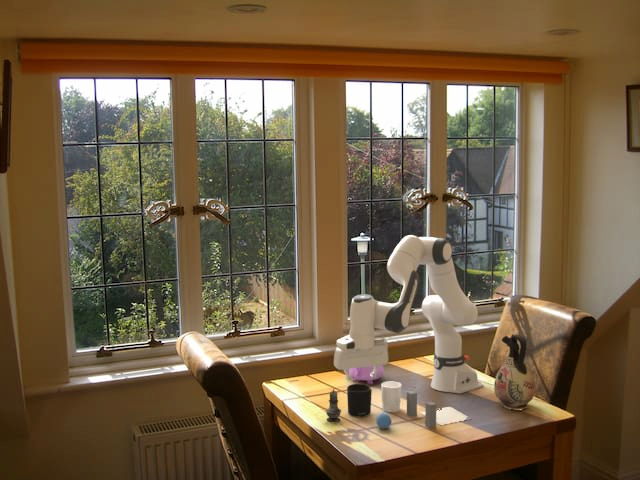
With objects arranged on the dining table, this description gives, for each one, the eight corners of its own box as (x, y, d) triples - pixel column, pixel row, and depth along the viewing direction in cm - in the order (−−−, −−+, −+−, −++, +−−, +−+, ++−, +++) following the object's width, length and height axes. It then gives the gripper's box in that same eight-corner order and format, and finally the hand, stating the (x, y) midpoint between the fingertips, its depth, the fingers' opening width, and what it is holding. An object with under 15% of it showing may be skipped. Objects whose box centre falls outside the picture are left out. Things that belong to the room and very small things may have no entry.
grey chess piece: (325, 417, 263) (325, 386, 261) (340, 416, 263) (340, 386, 262) (326, 423, 257) (326, 391, 255) (342, 422, 257) (342, 391, 256)
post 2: (431, 425, 255) (432, 401, 253) (436, 427, 252) (436, 403, 251) (425, 426, 253) (425, 402, 252) (429, 429, 251) (429, 405, 250)
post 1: (412, 413, 266) (413, 390, 265) (416, 415, 264) (417, 392, 262) (406, 414, 265) (406, 391, 264) (410, 416, 262) (410, 394, 261)
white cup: (388, 414, 265) (388, 389, 264) (377, 407, 272) (377, 383, 271) (405, 410, 269) (405, 385, 267) (393, 404, 276) (394, 380, 274)
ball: (386, 424, 255) (386, 409, 255) (394, 429, 250) (394, 415, 250) (373, 426, 253) (373, 412, 252) (380, 432, 248) (381, 417, 247)
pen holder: (343, 415, 264) (343, 390, 263) (352, 407, 273) (352, 382, 272) (366, 419, 261) (366, 393, 259) (374, 410, 269) (375, 385, 268)
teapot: (361, 369, 320) (361, 340, 318) (392, 374, 313) (392, 344, 311) (340, 383, 300) (340, 352, 299) (373, 389, 293) (373, 357, 291)
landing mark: (449, 407, 272) (449, 406, 272) (471, 419, 260) (471, 418, 260) (419, 412, 266) (419, 412, 266) (440, 425, 254) (440, 425, 254)
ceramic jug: (485, 402, 277) (487, 329, 273) (517, 397, 283) (519, 326, 279) (512, 417, 261) (514, 340, 257) (545, 412, 267) (548, 336, 263)
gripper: (383, 336, 252) (382, 373, 253) (332, 341, 244) (331, 379, 246) (392, 340, 246) (391, 378, 248) (339, 345, 238) (338, 384, 240)
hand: (361, 378), depth 247 cm, fingers open, 8 cm apart
